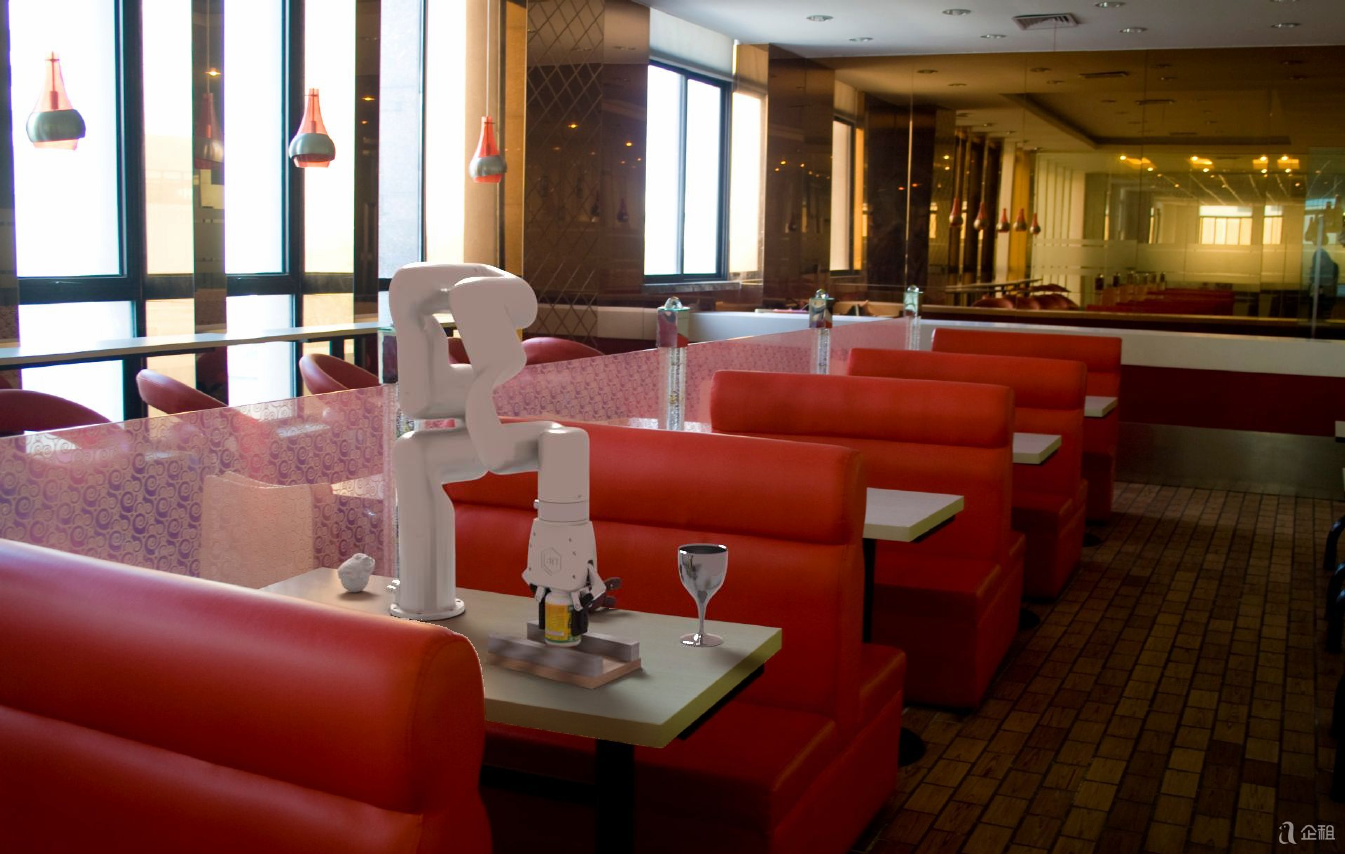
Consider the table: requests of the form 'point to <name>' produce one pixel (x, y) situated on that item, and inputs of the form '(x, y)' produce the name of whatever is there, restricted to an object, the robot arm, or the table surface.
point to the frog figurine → (356, 572)
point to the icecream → (603, 598)
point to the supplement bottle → (559, 619)
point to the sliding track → (565, 676)
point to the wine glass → (702, 583)
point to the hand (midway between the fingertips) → (563, 629)
